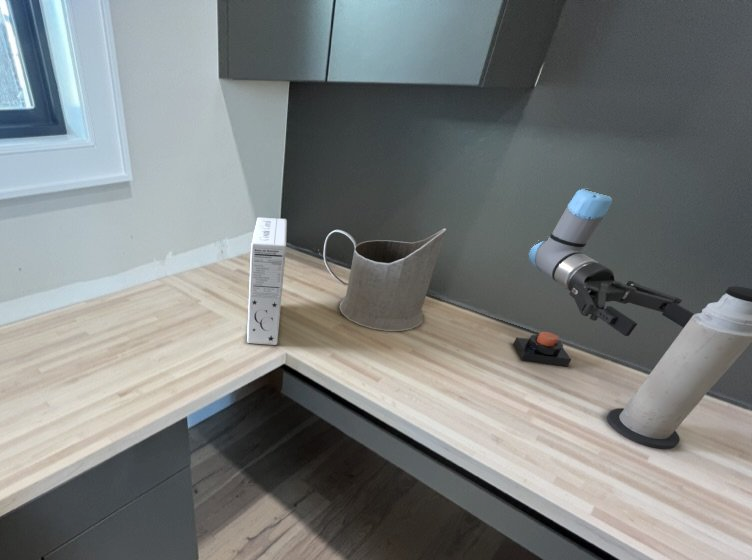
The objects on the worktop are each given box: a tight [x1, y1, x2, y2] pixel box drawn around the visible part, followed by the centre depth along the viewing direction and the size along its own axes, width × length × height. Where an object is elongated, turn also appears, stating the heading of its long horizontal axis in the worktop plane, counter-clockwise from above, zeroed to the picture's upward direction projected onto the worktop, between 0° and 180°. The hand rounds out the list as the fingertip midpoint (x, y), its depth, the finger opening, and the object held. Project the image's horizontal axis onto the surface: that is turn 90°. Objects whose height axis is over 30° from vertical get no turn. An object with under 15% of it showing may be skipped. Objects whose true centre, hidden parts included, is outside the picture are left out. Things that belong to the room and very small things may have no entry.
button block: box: [512, 333, 572, 368], centre depth 103 cm, size 10×8×4 cm
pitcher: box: [323, 228, 447, 332], centre depth 116 cm, size 23×32×25 cm
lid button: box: [536, 331, 560, 347], centre depth 101 cm, size 4×4×2 cm
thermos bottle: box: [619, 285, 752, 439], centre depth 73 cm, size 8×8×28 cm
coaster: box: [606, 407, 681, 450], centre depth 82 cm, size 11×11×1 cm
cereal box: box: [246, 217, 288, 346], centre depth 106 cm, size 22×8×25 cm, turn 174°
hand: (664, 328), depth 79 cm, fingers open, 13 cm apart
